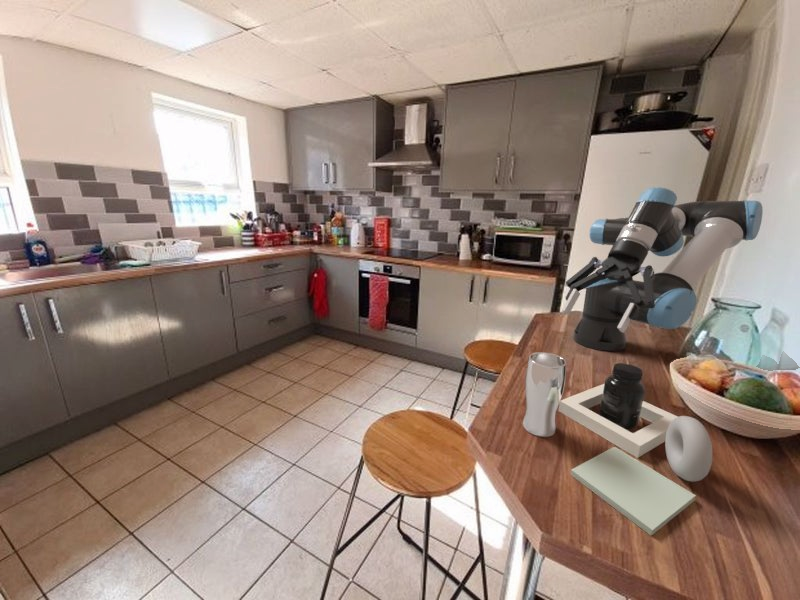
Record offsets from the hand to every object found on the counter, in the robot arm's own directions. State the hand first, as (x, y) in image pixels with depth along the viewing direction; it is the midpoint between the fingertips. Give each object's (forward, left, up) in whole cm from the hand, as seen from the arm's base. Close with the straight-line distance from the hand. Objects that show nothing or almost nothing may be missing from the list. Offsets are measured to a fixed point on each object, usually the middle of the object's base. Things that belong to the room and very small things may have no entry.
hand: (590, 321), depth 81 cm
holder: (+9, +14, -16) cm, 23 cm away
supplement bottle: (+9, +14, -16) cm, 24 cm away
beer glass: (+26, +8, -16) cm, 31 cm away
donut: (+14, +28, -16) cm, 35 cm away
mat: (+25, +25, -16) cm, 39 cm away
